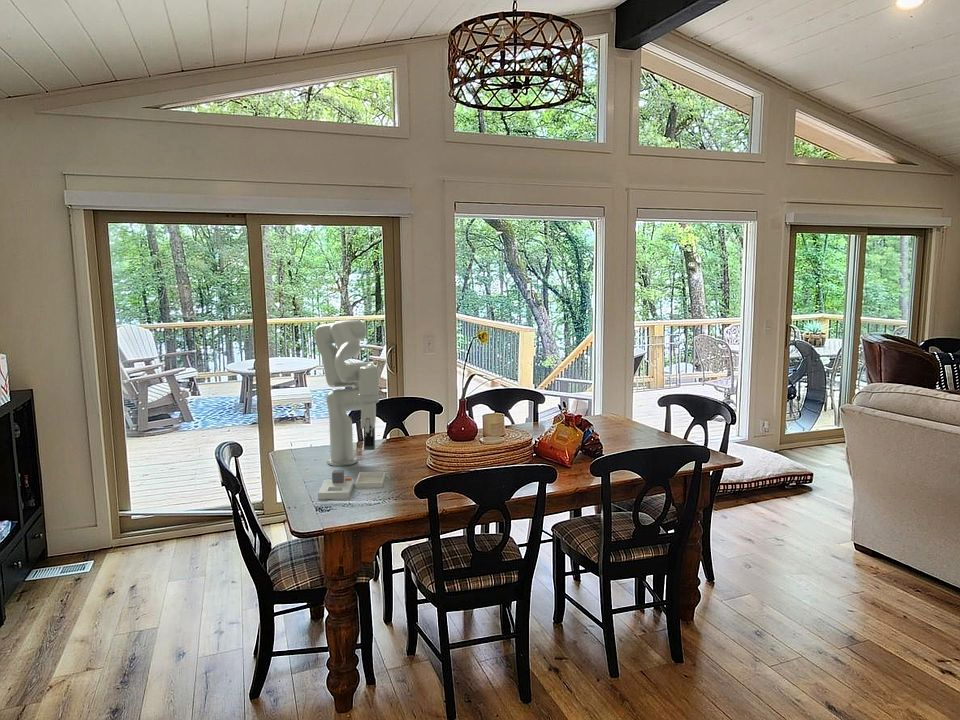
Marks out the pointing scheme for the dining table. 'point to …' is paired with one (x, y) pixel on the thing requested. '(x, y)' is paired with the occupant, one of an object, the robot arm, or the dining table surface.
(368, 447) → the plug
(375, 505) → the dining table surface
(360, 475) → the tray
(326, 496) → the socket strip
